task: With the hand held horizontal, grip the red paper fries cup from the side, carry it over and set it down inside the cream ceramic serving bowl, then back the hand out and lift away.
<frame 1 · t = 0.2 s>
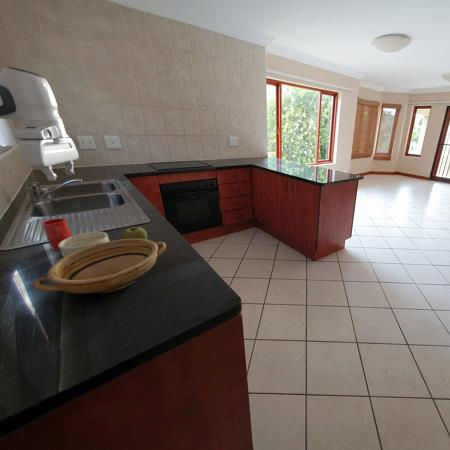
hand: (62, 177, 77), 26 cm above the counter, tool pointing down, fingers open, 8 cm apart
fries cup: (63, 246, 88), on the counter
apple: (137, 246, 89), on the counter
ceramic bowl: (116, 281, 69), on the counter
serving bowl: (88, 250, 85), on the counter
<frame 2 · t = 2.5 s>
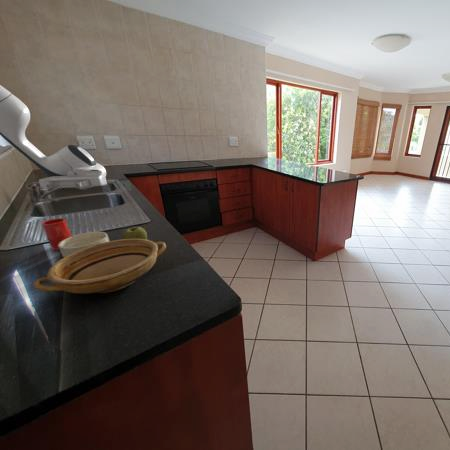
hand: (63, 186, 90), 20 cm above the counter, tool horizontal, fingers open, 8 cm apart
nothing on the counter moved.
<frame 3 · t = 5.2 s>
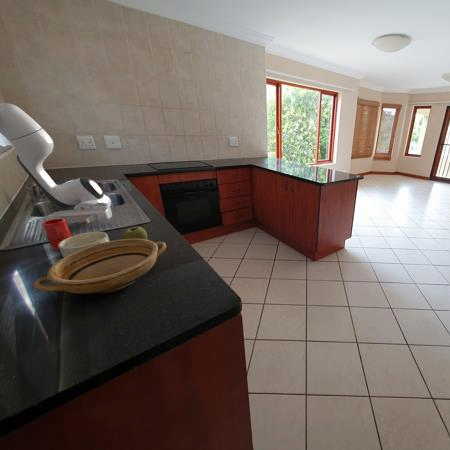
hand: (70, 222, 93), 6 cm above the counter, tool horizontal, fingers open, 8 cm apart
nothing on the counter moved.
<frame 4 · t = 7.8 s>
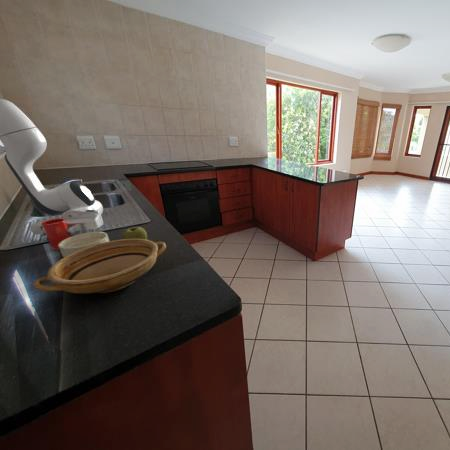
hand: (56, 232, 85), 6 cm above the counter, tool horizontal, fingers closed on fries cup, 6 cm apart
fries cup: (63, 246, 88), on the counter, touching gripper
everything else where it was.
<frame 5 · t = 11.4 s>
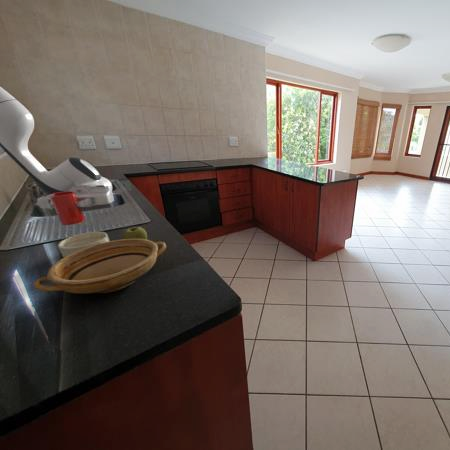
hand: (65, 206, 78), 17 cm above the counter, tool horizontal, fingers closed on fries cup, 6 cm apart
fries cup: (73, 221, 81), point 11 cm above the counter, touching gripper
everything else where it was.
when the fingers open (7 cm above the counter, at t = 15.0 s): fries cup stays where it is, resting on serving bowl.
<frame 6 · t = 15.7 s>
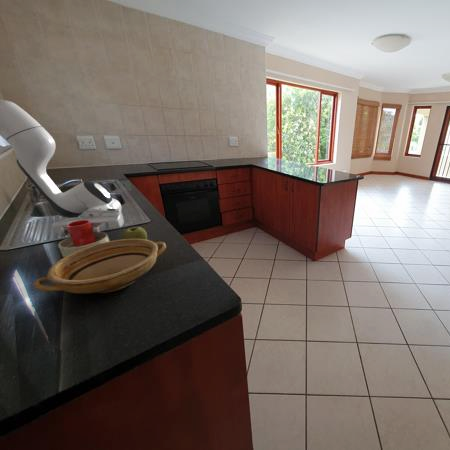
hand: (79, 232, 81), 8 cm above the counter, tool horizontal, fingers open, 8 cm apart
fries cup: (87, 248, 85), point 1 cm above the counter, touching serving bowl
everything else where it was.
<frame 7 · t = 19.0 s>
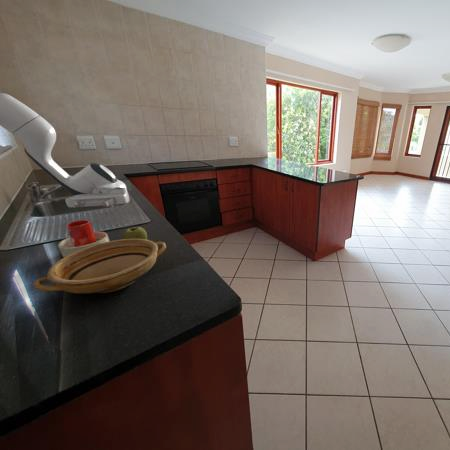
hand: (90, 205, 91), 13 cm above the counter, tool horizontal, fingers open, 8 cm apart
nothing on the counter moved.
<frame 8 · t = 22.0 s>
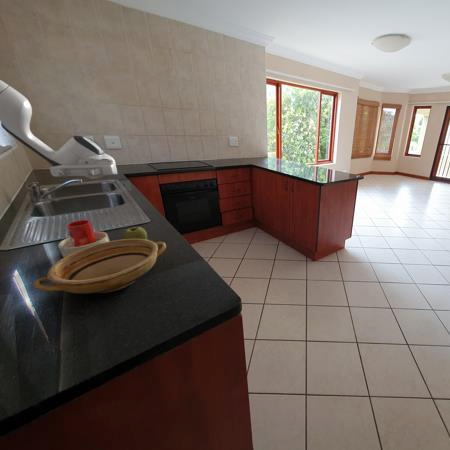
hand: (75, 173, 89), 25 cm above the counter, tool horizontal, fingers open, 8 cm apart
nothing on the counter moved.
at the end: fries cup inside the target area in the serving bowl (0.1 cm from its centre), point 0.6 cm above the serving bowl's base; fries cup tilted 0°; the gripper is holding nothing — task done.
